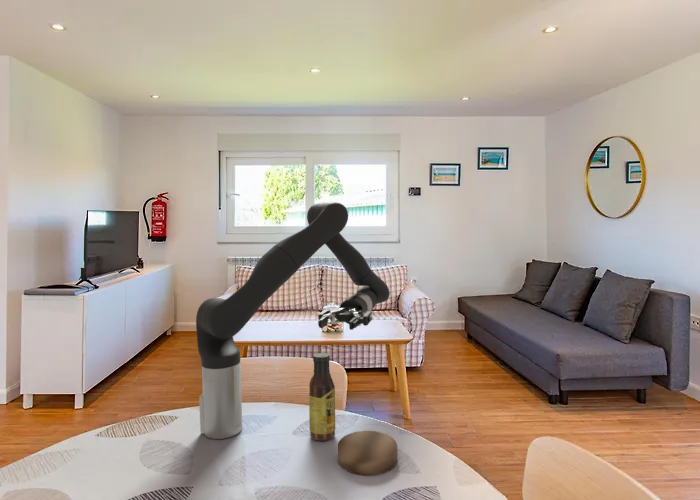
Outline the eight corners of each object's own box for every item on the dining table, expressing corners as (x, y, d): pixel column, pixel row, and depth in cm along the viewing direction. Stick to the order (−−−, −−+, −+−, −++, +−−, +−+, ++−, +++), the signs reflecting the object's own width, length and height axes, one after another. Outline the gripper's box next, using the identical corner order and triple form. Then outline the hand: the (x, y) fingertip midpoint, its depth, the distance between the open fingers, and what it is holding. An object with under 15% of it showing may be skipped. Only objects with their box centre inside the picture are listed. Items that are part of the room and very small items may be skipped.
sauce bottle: (332, 443, 101) (330, 360, 99) (306, 441, 102) (304, 358, 101) (338, 430, 107) (336, 351, 106) (314, 428, 108) (312, 350, 107)
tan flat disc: (329, 470, 90) (329, 456, 89) (347, 440, 102) (347, 427, 102) (391, 480, 86) (390, 465, 86) (402, 447, 98) (402, 434, 98)
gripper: (333, 294, 128) (309, 310, 113) (378, 295, 123) (360, 312, 108) (334, 319, 129) (311, 337, 114) (380, 321, 124) (362, 340, 109)
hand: (335, 325), depth 111 cm, fingers open, 8 cm apart
